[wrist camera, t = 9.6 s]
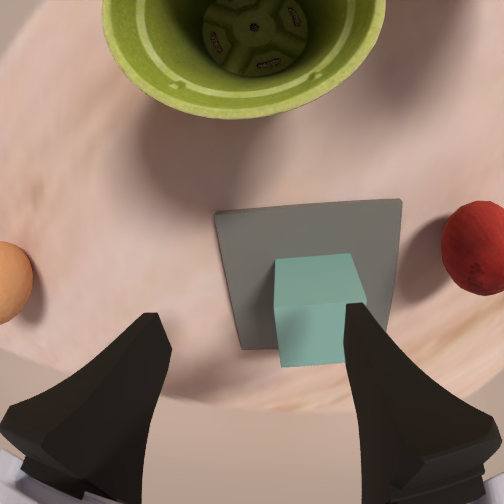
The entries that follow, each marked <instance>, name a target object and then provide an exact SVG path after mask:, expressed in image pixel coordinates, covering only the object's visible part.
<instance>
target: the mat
mask: <svg viewBox="0 0 504 504" xmlns="http://www.w3.org/2000/svg"><path fill="white" fill-rule="evenodd" d="M401 217H402V201H401V200H400V199H378V200H359V201H342V202H326V203H312V204H298V205H286V206H273V207H262V208H251V209H240V210H230V211H220V212H215V214H214V218H215V223H216V228H217V234H218V239H219V244H220V249H221V254H222V259H223V264H224V268H225V273H226V278H227V283H228V288H229V292H230V297H231V302H232V307H233V311H234V316H235V320H236V325H237V330H238V334H239V339H240V343H241V348H242V350H253V349H279V347H278V338H277V330H276V322H275V314H274V286H275V259H285V258H297V257H309V256H322V255H334V254H345V253H350V254H351V257H352V259H353V262H354V265H355V267H356V270H357V273H358V276H359V279H360V281H361V284H362V287H363V290H364V293H365V296H366V299H367V303H366V307H367V308H368V310H369V311H370V313H371V314H372V315H373V317H374V318H375V319H376V321H377V322H378V323H379V324H380V326H381V327H382V328H383V329H384V331H385V332H386V329H387V324H388V319H389V313H390V308H391V302H392V295H393V289H394V282H395V275H396V267H397V259H398V250H399V240H400V229H401Z"/></svg>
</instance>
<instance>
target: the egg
mask: <svg viewBox="0 0 504 504" xmlns="http://www.w3.org/2000/svg"><path fill="white" fill-rule="evenodd" d="M32 284H33V272H32V268H31V264H30V261H29V259H28V257H27V255H26V254H25V253H24V252H23V250H21V249H20V248H19V247H17V246H16V245H14V244H11V243H8V242H0V325H1V324H3V323H6V322H8V321H10V320H11V319H12V318H14V317H15V316H16V315H17V314H18V313H19V312H20V311H21V310H22V309H23V307H24V306H25V305H26V303H27V301H28V299H29V297H30V294H31V291H32Z"/></svg>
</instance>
